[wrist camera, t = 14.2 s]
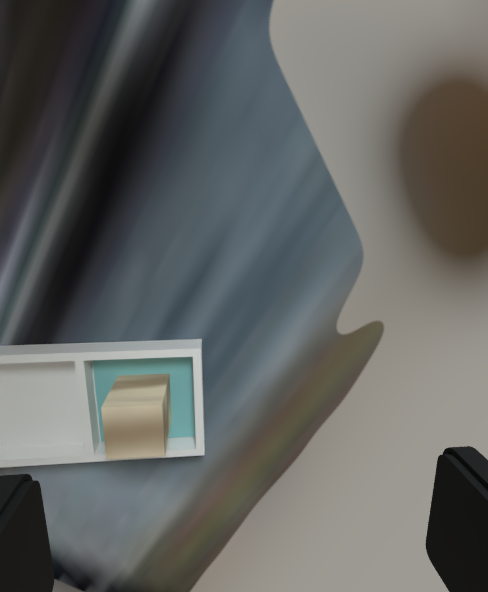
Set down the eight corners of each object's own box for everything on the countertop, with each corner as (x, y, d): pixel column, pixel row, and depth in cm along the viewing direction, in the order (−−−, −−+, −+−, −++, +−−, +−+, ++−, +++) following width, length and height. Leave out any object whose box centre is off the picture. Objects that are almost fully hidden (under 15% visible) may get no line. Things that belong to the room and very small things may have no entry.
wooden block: (118, 375, 37) (101, 407, 31) (169, 373, 37) (161, 404, 31) (121, 420, 38) (106, 459, 32) (171, 417, 38) (164, 456, 33)
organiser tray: (-35, 346, 35) (-53, 357, 33) (201, 338, 37) (201, 348, 35) (-14, 452, 38) (-30, 469, 36) (204, 440, 40) (204, 455, 38)
